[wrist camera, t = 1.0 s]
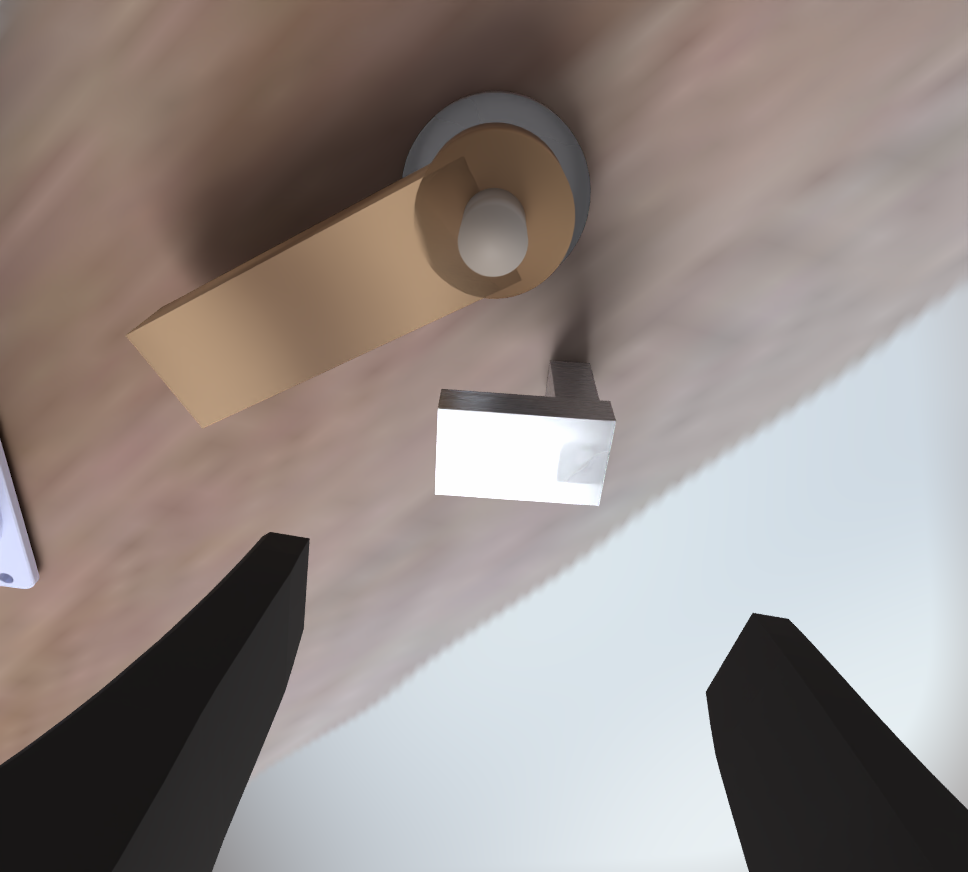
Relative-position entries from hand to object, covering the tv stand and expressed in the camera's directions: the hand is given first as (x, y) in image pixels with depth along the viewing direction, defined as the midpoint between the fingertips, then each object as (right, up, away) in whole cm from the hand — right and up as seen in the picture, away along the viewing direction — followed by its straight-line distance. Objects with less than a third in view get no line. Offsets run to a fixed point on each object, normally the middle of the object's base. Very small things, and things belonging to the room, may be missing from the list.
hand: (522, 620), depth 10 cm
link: (-4, +7, +7) cm, 11 cm away
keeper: (0, +5, +9) cm, 10 cm away
